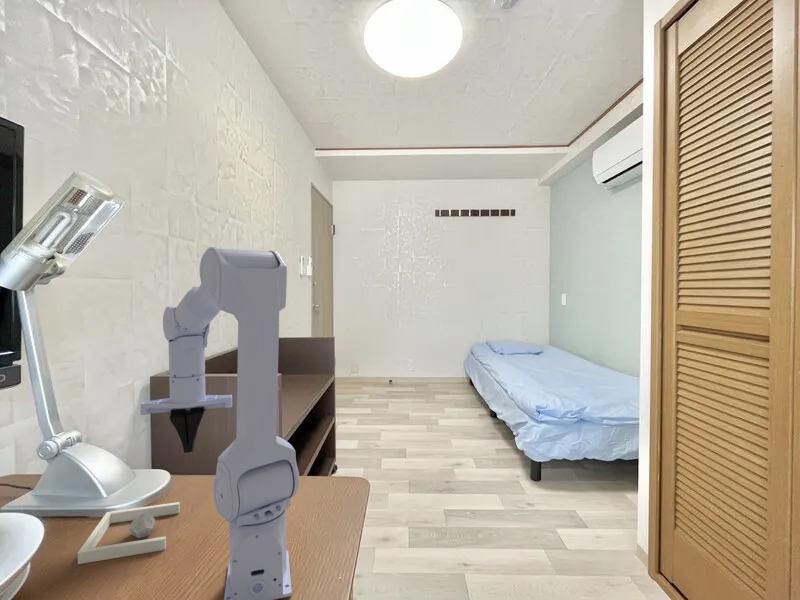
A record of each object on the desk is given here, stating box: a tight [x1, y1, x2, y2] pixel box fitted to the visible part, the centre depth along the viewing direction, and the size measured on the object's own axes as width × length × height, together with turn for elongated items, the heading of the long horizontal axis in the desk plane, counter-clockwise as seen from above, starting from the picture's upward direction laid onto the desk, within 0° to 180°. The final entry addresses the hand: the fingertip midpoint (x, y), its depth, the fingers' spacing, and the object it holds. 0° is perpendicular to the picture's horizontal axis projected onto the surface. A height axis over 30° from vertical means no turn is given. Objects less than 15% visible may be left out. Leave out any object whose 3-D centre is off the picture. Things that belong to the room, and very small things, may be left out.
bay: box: [77, 501, 181, 565], centre depth 68 cm, size 12×11×2 cm
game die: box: [128, 512, 156, 539], centre depth 69 cm, size 4×4×3 cm
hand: (189, 450), depth 77 cm, fingers closed
